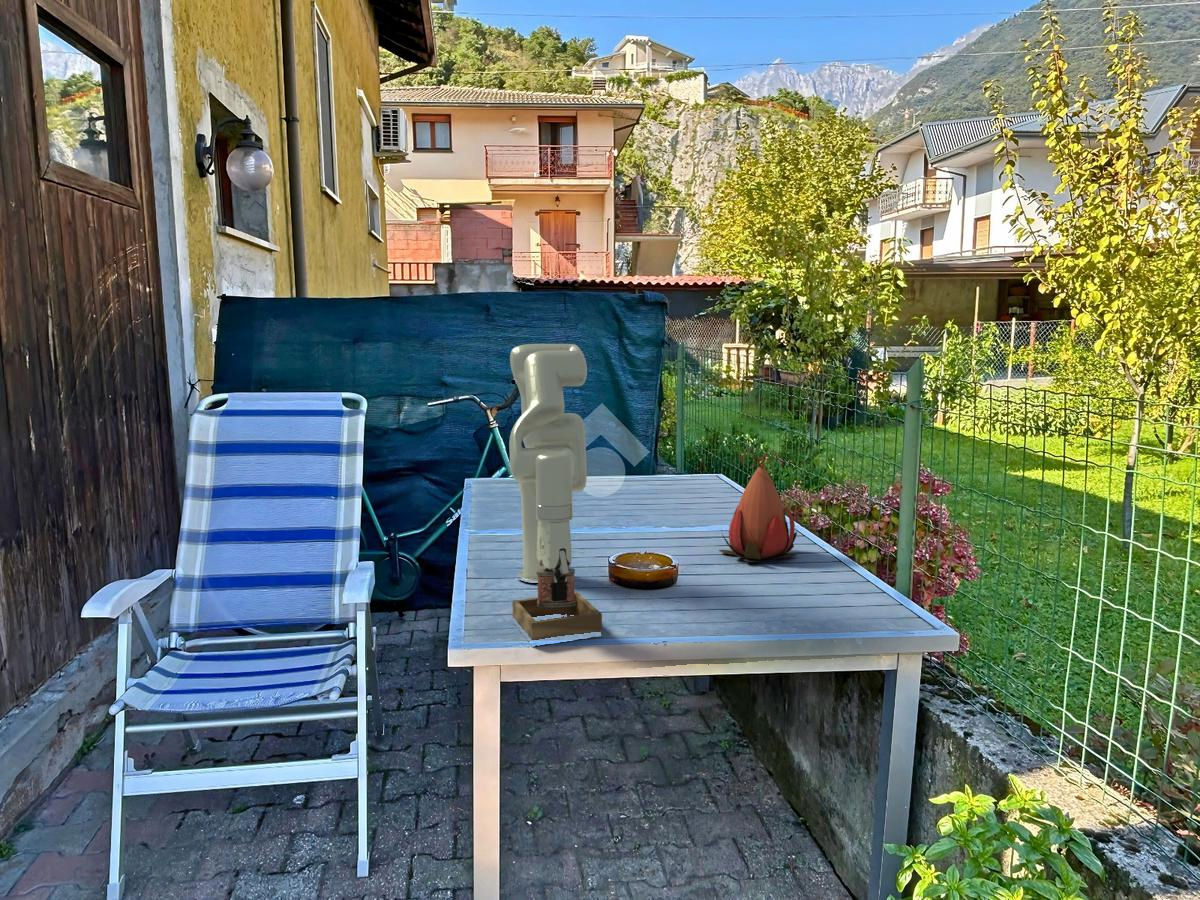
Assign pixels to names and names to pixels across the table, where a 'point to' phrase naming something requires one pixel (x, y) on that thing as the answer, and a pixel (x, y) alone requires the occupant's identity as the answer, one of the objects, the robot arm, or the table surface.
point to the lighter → (546, 592)
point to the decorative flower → (761, 521)
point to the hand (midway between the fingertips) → (555, 596)
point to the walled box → (580, 623)
